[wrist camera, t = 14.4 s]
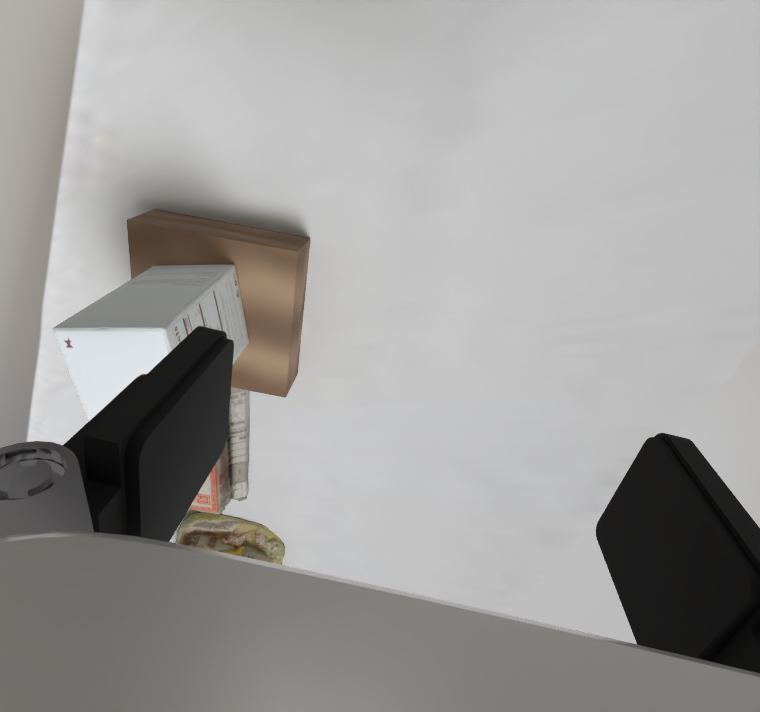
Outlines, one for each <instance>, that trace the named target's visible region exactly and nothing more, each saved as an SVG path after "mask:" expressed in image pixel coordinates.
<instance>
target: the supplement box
mask: <svg viewBox="0 0 760 712" xmlns="http://www.w3.org/2000/svg"><path fill="white" fill-rule="evenodd" d="M198 326H203V327H207V328H211V329H216V330H220V331H224V332H226V335H227V339H230V340H233V341H234V354H233V364H234V363H235V361H236V360H237V359H238V357H239V356H240V355H241V353H242V352H243V351H244V349H245V348H246V346H247V345H248V344H249V339H248V333H247V327H246V322H245V317H244V312H243V306H242V300H241V295H240V290H239V284H238V279H237V274H236V269H235V265H165V266H152V267H151V268H149V269H148V270H146V271H145V272H143V273H141V274H139V275H138V276H136V277H135V278H133V279H132V280H130V281H128V282H127V283H125V284H123V285H122V286H120V287H119V288H117V289H115V290H114V291H112V292H110V293H109V294H107V295H106V296H104V297H102V298H101V299H99V300H98V301H96V302H94V303H93V304H91V305H90V306H88V307H86V308H85V309H83V310H81V311H80V312H78V313H77V314H75V315H73V316H72V317H70V318H68V319H67V320H65V321H64V322H62V323H60V324H59V325H57V326H56V327H54V328H53V331H54V333H55V336H56V339H57V342H58V345H59V347H60V350H61V352H62V355H63V358H64V360H65V363H66V365H67V368H68V370H69V373H70V375H71V378H72V380H73V383H74V385H75V388H76V390H77V393H78V395H79V398H80V400H81V403H82V406H83V408H84V411H85V413H86V416H87V418H88V420H89V421H90V420H91V419H92V418H93V417H94V416H96V415H97V414H98V413H99V412H100V411H101V410H102V409H103V408H104V407H105V406H106V405H107V404H108V403H110V402H111V401H112V400H113V399H114V398H115V397H116V396H117V395H118V394H119V393H120V392H121V391H123V390H124V389H125V388H126V387H127V386H128V385H129V384H130V383H131V382H132V381H133V380H134V379H136V378H137V377H138V376H140V375H141V374H148V373H149V372H150V371H151V370H152V369H153V368H154V367H155V366H156V365H157V364H158V363H159V362H160V361H161V360H162V359H163V358H164V357H166V356H167V355H168V354H169V353H170V352H171V351H172V350H173V349H174V348H175V347H176V346H177V345H178V344H179V343H180V342H181V341H182V340H184V339H185V338H186V337H187V336H188V335H189V334H190V333H191V332H192V331H193V330H194V329H195V328H196V327H198Z"/></svg>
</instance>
